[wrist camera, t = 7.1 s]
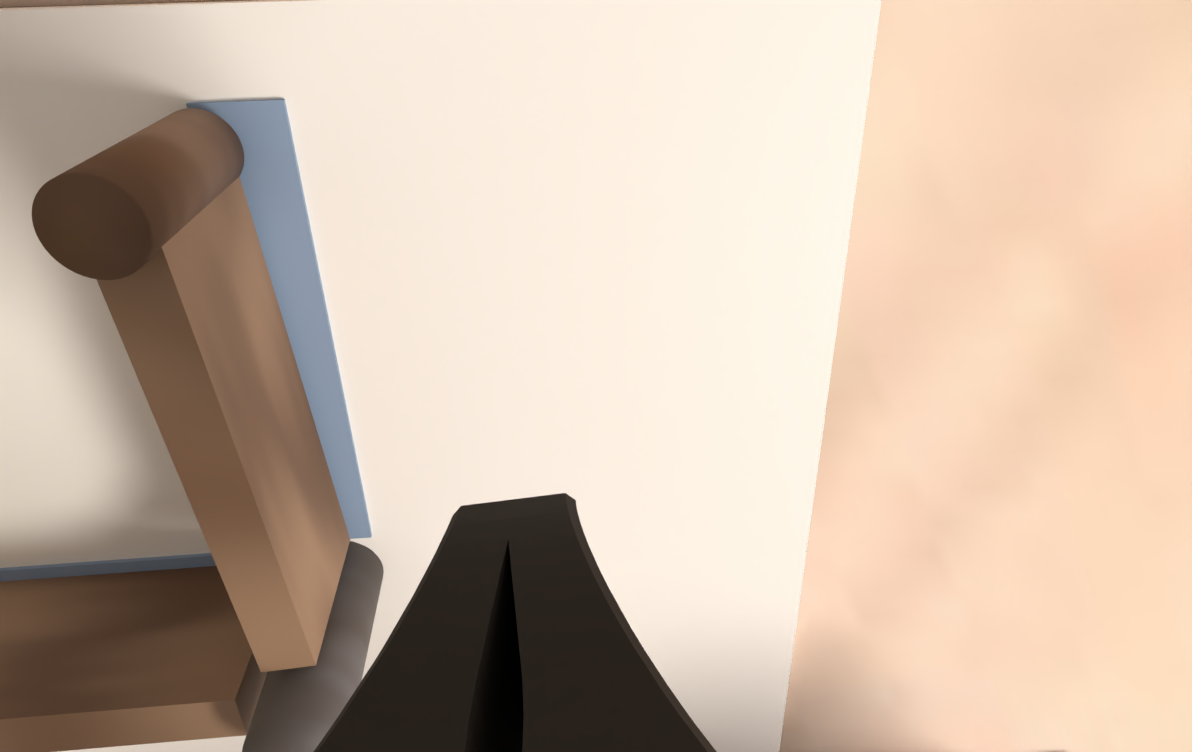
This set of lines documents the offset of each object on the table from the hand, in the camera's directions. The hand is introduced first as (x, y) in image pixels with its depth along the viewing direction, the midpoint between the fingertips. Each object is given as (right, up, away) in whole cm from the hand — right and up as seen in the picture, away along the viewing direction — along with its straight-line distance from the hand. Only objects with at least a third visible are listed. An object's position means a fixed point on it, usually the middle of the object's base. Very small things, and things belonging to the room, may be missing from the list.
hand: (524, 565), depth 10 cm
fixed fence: (-9, -2, +9) cm, 13 cm away
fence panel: (-6, +3, +6) cm, 8 cm away
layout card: (-5, 0, +9) cm, 10 cm away
